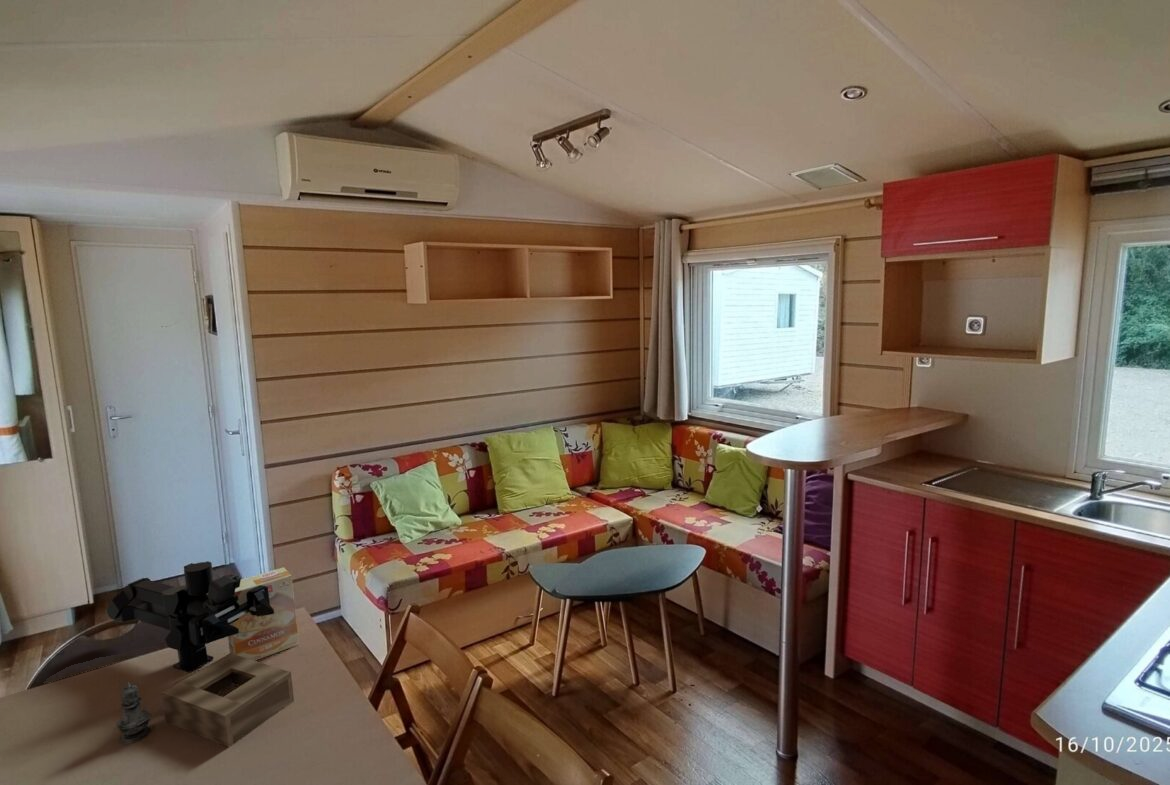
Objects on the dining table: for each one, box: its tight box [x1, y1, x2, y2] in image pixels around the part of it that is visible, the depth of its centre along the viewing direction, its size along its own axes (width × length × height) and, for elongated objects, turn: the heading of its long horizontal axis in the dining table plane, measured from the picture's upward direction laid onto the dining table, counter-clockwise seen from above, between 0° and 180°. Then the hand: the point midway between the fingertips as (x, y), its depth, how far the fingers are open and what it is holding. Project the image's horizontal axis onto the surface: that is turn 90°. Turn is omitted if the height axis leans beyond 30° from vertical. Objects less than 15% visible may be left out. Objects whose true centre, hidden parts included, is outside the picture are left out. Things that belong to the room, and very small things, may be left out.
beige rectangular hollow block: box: [161, 652, 295, 748], centre depth 140 cm, size 20×16×7 cm
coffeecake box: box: [227, 567, 300, 661], centre depth 163 cm, size 15×7×20 cm, turn 131°
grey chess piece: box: [116, 682, 152, 744], centre depth 133 cm, size 6×6×12 cm
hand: (256, 621), depth 146 cm, fingers open, 9 cm apart
